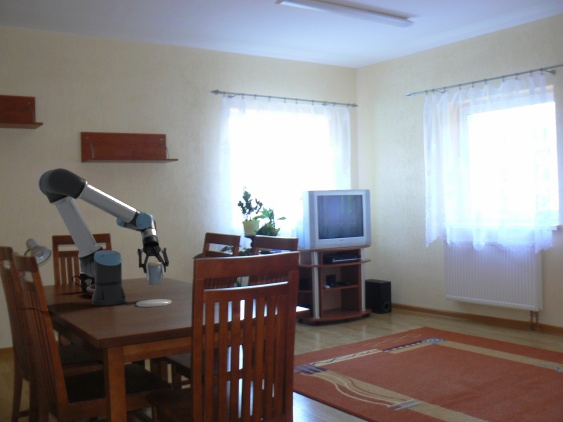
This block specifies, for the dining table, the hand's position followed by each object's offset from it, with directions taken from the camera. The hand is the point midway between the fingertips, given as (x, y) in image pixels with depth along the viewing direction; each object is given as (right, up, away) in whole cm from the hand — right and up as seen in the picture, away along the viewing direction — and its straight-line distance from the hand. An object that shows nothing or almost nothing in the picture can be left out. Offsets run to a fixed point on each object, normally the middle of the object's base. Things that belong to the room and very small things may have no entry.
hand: (156, 277), depth 276 cm
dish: (-32, -12, +26) cm, 43 cm away
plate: (+1, -10, -12) cm, 16 cm away
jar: (-1, -4, +3) cm, 5 cm away
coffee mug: (-45, -12, +40) cm, 61 cm away
